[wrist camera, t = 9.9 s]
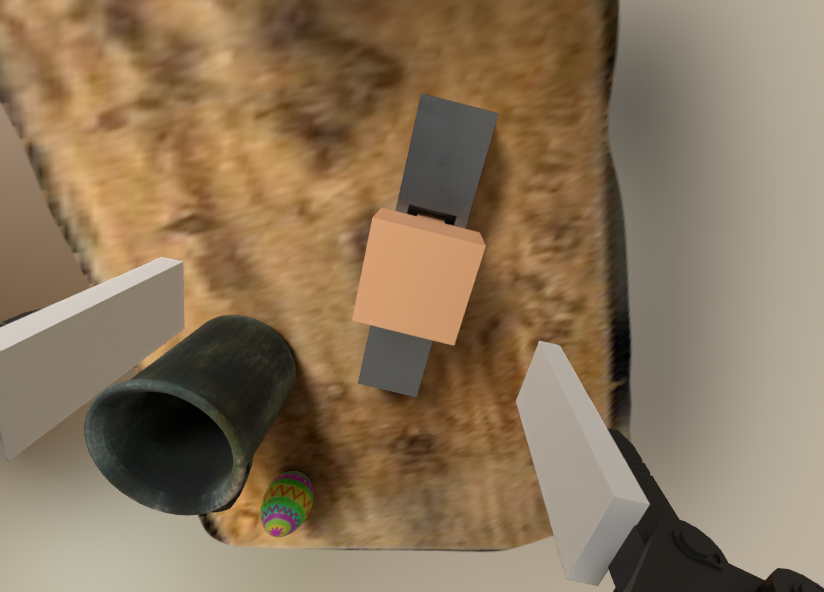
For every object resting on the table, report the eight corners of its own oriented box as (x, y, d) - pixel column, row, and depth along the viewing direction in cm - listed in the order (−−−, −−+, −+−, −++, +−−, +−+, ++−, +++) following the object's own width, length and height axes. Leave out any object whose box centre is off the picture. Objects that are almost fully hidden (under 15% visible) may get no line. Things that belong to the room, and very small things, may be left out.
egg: (291, 456, 41) (267, 505, 35) (327, 482, 42) (310, 534, 36) (265, 481, 42) (238, 532, 37) (300, 506, 43) (280, 559, 38)
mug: (290, 304, 35) (219, 379, 23) (317, 436, 40) (270, 550, 29) (175, 310, 36) (54, 384, 24) (216, 439, 41) (132, 549, 30)
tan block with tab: (451, 305, 33) (454, 345, 26) (369, 285, 32) (351, 320, 26) (475, 224, 30) (485, 245, 24) (387, 201, 30) (372, 217, 23)
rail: (423, 100, 28) (421, 93, 24) (490, 117, 28) (498, 113, 25) (366, 358, 36) (357, 383, 32) (418, 371, 36) (416, 397, 32)
